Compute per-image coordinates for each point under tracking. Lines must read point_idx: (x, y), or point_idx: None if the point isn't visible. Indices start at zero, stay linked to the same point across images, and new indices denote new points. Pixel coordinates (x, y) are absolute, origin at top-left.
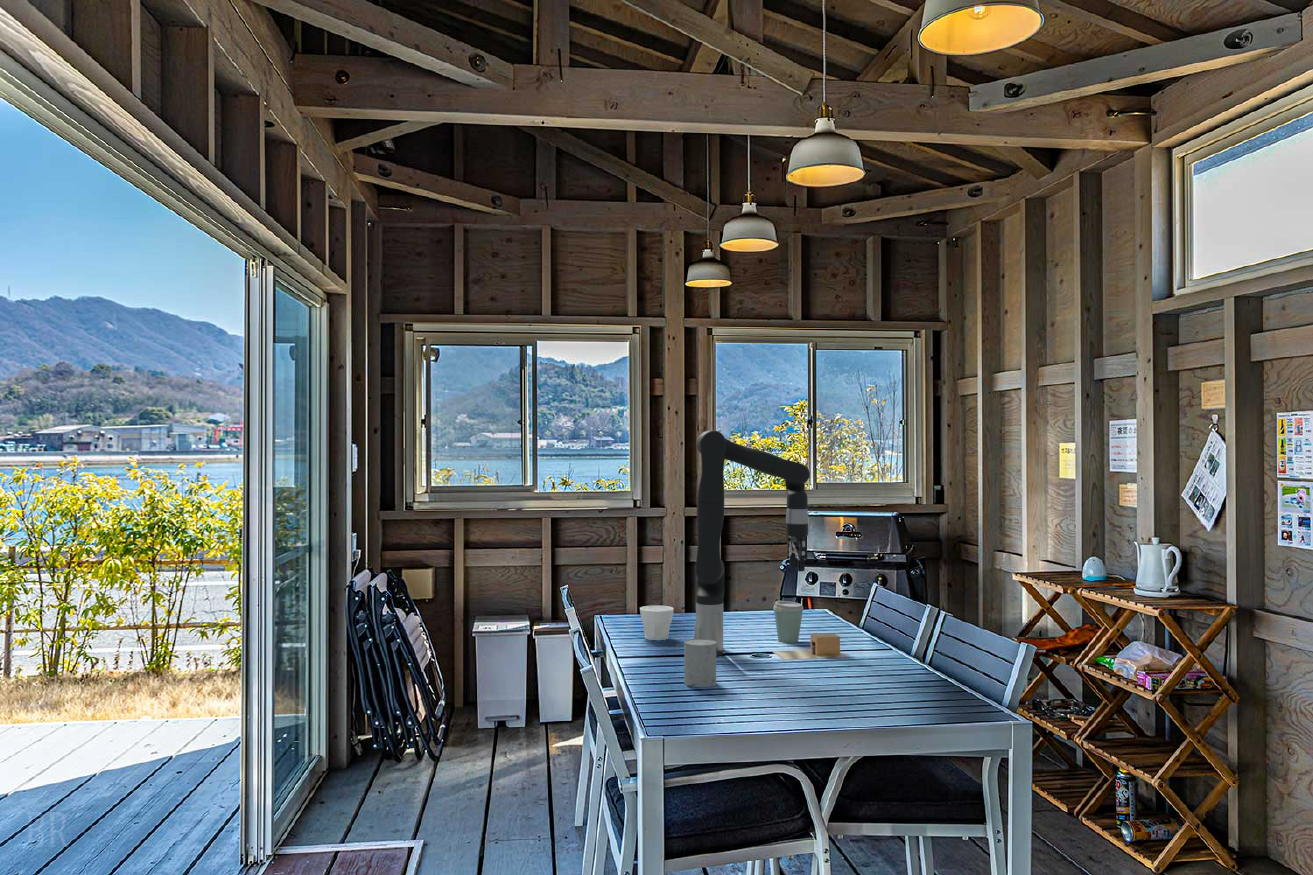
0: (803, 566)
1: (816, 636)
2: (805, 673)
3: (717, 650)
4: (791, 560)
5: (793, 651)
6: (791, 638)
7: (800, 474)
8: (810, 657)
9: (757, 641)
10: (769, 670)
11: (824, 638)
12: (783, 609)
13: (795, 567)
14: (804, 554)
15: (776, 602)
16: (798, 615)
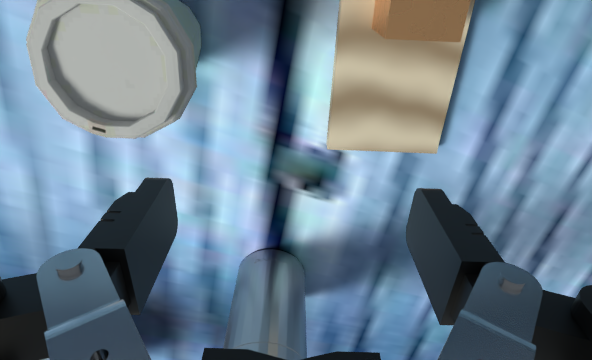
0: (476, 232)
1: (438, 33)
2: (555, 128)
3: (302, 276)
4: (150, 273)
5: (346, 85)
6: (199, 39)
7: None
8: (446, 62)
9: None
10: (480, 201)
11: (467, 5)
12: (181, 111)
13: (171, 184)
14: (533, 332)
15: (92, 126)
16: (180, 23)
